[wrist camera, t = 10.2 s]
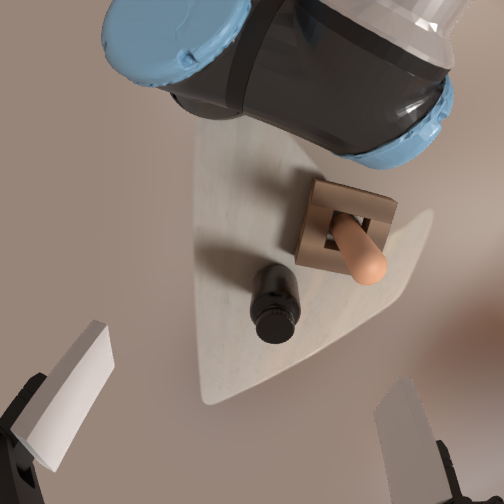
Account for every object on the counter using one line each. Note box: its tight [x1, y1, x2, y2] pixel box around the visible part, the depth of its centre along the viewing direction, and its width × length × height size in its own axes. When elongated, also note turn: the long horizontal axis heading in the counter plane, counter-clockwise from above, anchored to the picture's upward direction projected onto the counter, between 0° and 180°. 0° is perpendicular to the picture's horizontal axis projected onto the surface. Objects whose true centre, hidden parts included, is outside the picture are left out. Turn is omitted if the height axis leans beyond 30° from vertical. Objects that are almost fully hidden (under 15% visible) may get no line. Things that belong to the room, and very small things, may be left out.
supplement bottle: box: [250, 265, 301, 344], centre depth 40 cm, size 7×7×12 cm
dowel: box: [329, 213, 387, 285], centre depth 34 cm, size 4×4×14 cm
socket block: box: [294, 178, 397, 275], centre depth 39 cm, size 12×12×3 cm
